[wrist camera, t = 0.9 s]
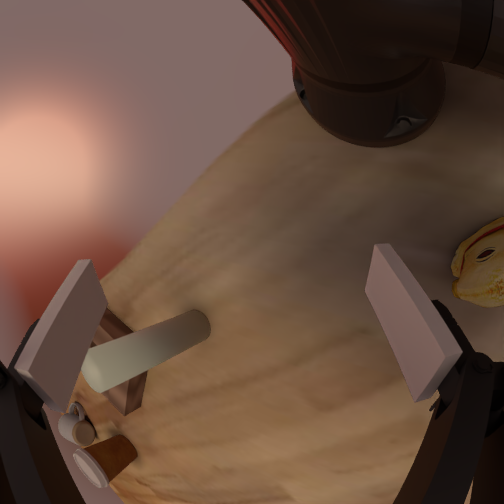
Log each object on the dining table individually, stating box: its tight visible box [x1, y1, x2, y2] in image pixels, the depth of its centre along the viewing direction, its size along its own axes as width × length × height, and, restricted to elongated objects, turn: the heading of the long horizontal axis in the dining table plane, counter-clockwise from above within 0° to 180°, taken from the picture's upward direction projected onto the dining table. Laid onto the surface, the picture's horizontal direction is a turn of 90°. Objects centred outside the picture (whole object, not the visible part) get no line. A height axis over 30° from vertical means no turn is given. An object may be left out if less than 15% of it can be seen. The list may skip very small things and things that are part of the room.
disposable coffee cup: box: [73, 435, 137, 488], centre depth 43 cm, size 10×10×12 cm
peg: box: [81, 310, 210, 393], centre depth 28 cm, size 4×4×16 cm
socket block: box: [89, 308, 148, 416], centre depth 43 cm, size 14×14×4 cm
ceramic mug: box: [58, 403, 95, 446], centre depth 53 cm, size 11×8×8 cm
